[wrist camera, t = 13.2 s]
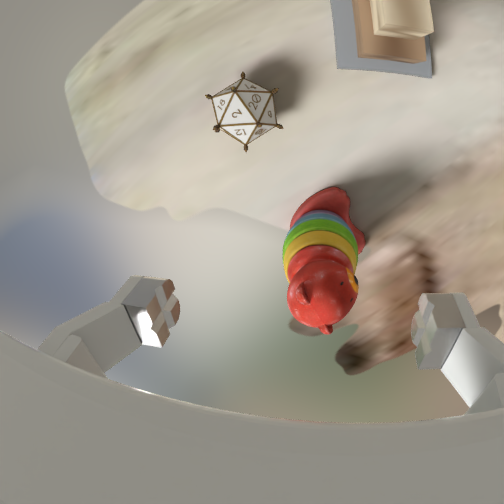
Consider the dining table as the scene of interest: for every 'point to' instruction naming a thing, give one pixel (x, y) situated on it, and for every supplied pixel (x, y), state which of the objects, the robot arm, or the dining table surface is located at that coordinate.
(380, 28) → the oak block
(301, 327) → the dining table surface
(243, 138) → the game die
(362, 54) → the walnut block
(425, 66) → the base plate
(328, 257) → the stacking bear
